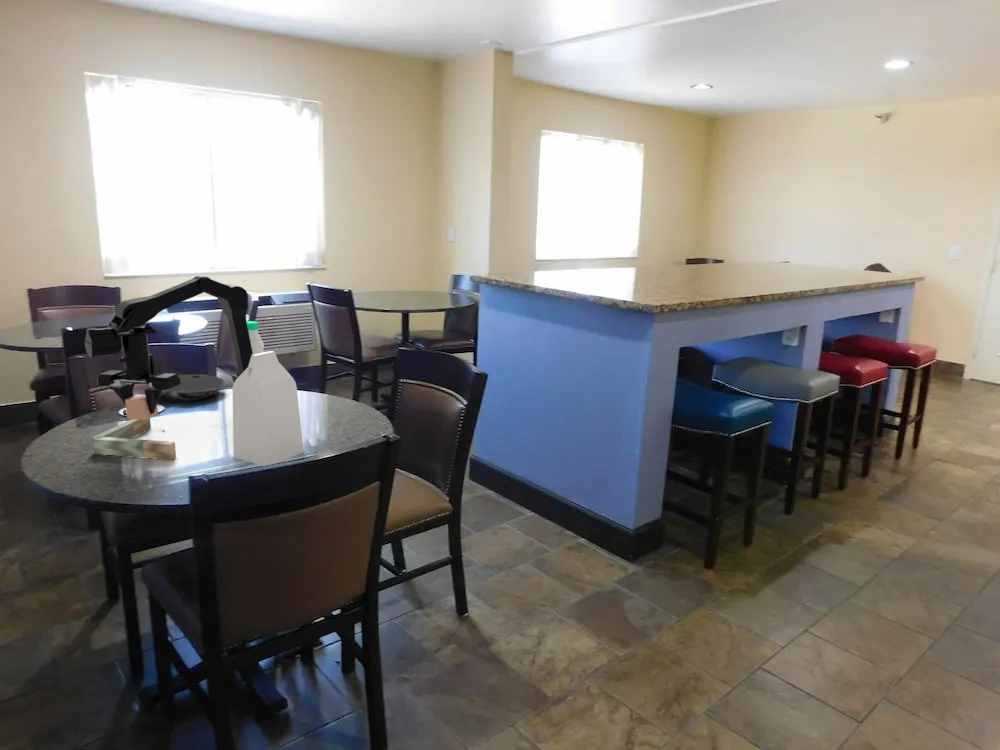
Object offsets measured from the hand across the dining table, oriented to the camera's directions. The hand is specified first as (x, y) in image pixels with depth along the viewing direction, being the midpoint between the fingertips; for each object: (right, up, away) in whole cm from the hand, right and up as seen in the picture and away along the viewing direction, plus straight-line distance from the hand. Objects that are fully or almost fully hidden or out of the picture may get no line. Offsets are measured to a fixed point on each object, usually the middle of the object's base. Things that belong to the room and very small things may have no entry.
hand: (142, 412), depth 171 cm
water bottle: (+12, +2, +46) cm, 47 cm away
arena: (+1, -8, +4) cm, 9 cm away
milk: (+32, -11, -1) cm, 34 cm away
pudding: (-16, -2, +30) cm, 34 cm away
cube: (0, -1, 0) cm, 1 cm away
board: (-10, +3, +48) cm, 49 cm away
